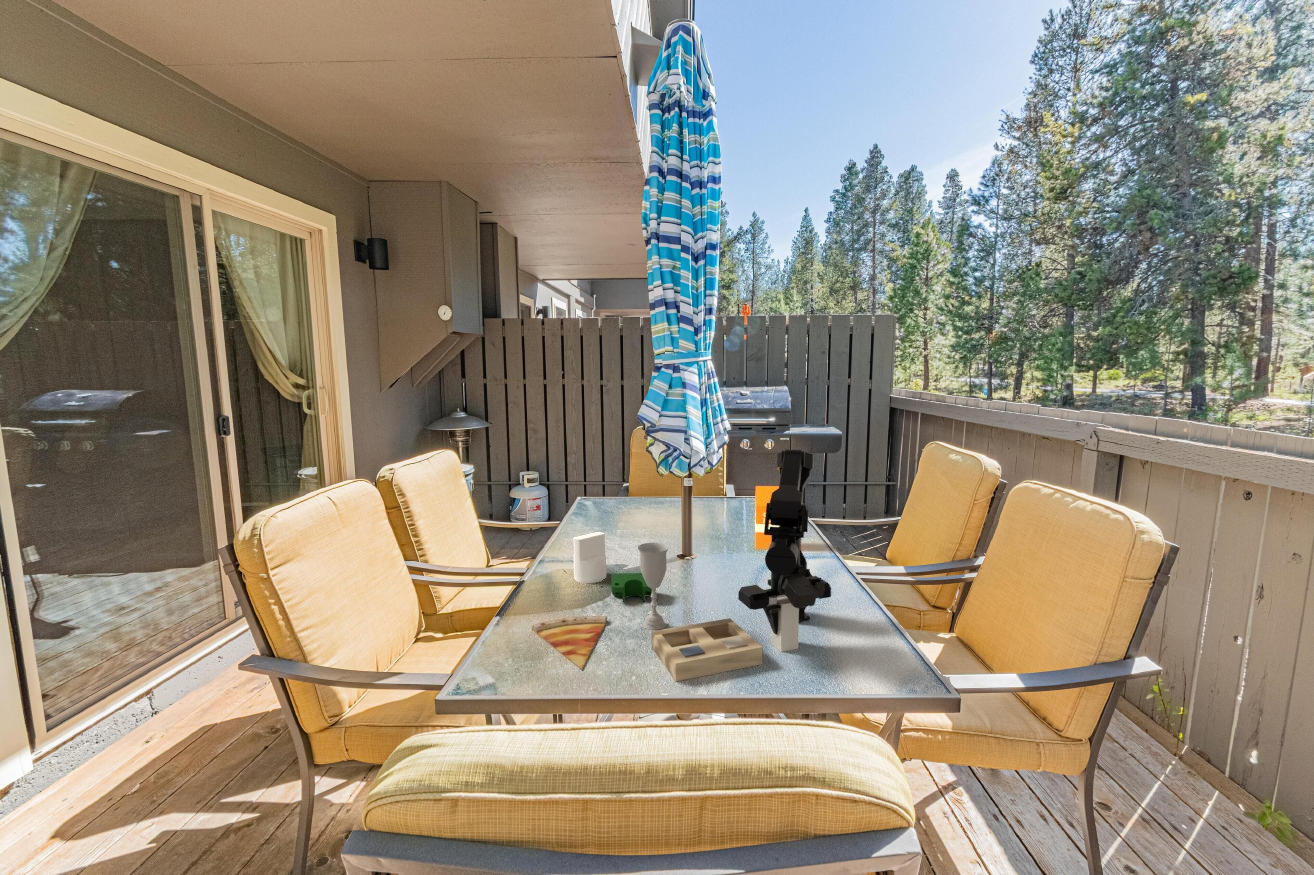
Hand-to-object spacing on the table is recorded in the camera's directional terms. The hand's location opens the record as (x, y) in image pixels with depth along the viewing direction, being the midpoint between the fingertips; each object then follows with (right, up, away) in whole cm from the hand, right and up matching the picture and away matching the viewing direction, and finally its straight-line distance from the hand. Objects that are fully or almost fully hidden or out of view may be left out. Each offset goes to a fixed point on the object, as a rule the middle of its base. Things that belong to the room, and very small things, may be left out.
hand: (784, 631), depth 119 cm
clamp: (-32, -1, +26) cm, 42 cm away
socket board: (-17, -4, -3) cm, 17 cm away
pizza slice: (-47, -4, +4) cm, 47 cm away
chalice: (-27, -2, +11) cm, 29 cm away
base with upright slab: (-45, +1, +42) cm, 61 cm away
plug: (0, -3, 0) cm, 3 cm away
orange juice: (+10, +4, +67) cm, 68 cm away
